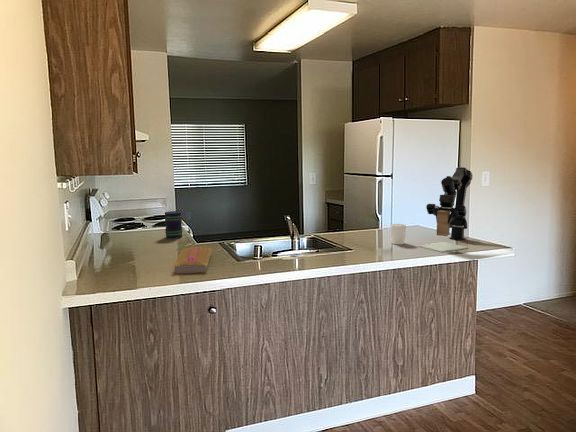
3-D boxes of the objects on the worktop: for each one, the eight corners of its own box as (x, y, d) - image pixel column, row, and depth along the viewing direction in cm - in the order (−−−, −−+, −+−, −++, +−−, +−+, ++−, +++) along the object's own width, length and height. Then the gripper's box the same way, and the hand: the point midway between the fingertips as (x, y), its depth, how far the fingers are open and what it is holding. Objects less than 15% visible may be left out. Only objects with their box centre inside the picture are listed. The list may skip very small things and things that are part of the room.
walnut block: (439, 233, 236) (439, 210, 234) (449, 234, 233) (450, 210, 232) (436, 235, 232) (437, 211, 230) (446, 236, 229) (447, 212, 228)
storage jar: (162, 237, 275) (160, 212, 273) (174, 235, 283) (173, 210, 281) (174, 239, 270) (173, 213, 268) (186, 236, 278) (185, 211, 276)
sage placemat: (443, 242, 249) (443, 241, 249) (467, 248, 235) (467, 247, 235) (418, 246, 241) (418, 245, 241) (441, 252, 227) (441, 251, 227)
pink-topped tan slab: (182, 256, 228) (182, 244, 227) (212, 255, 229) (211, 243, 228) (172, 275, 193) (171, 260, 192) (207, 273, 195) (207, 259, 194)
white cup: (404, 241, 253) (404, 223, 252) (406, 244, 246) (407, 226, 244) (389, 241, 254) (389, 223, 253) (391, 244, 246) (391, 226, 245)
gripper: (427, 187, 238) (420, 212, 230) (466, 189, 228) (459, 214, 220) (431, 201, 245) (424, 225, 238) (468, 203, 235) (463, 228, 228)
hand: (442, 223), depth 231 cm, fingers closed on walnut block, 5 cm apart
